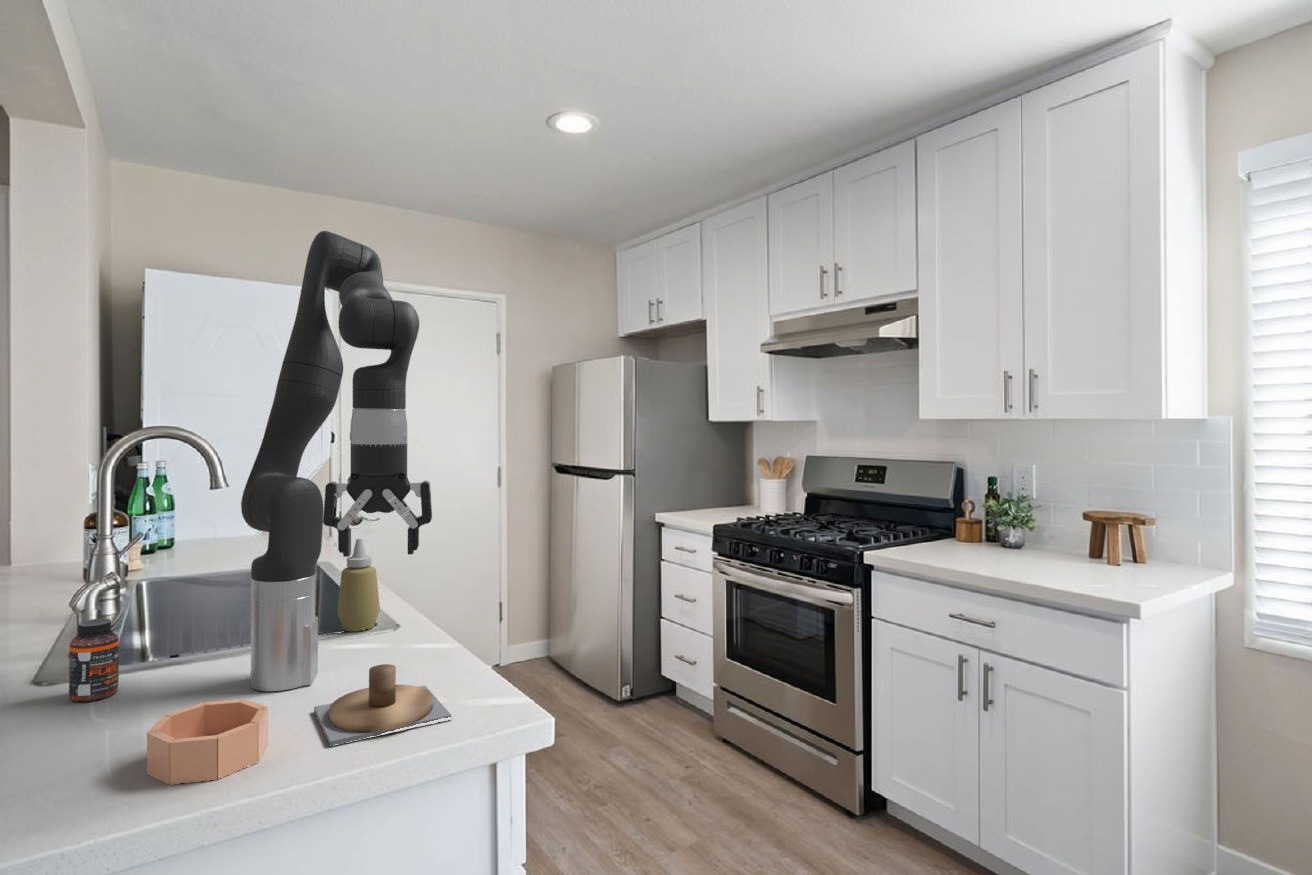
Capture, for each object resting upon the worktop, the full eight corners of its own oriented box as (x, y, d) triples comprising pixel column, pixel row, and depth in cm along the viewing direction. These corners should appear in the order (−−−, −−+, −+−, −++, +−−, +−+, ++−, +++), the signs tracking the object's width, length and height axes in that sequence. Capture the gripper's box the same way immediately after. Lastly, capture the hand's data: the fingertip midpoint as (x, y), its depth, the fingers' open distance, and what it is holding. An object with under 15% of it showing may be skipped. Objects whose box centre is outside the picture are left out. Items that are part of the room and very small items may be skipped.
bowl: (274, 733, 97) (274, 696, 97) (250, 776, 86) (250, 735, 86) (173, 742, 94) (173, 704, 94) (134, 788, 83) (134, 745, 82)
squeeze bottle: (353, 636, 139) (354, 544, 139) (328, 629, 144) (328, 540, 143) (388, 626, 146) (389, 538, 146) (363, 619, 151) (364, 534, 150)
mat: (425, 690, 113) (425, 685, 113) (451, 720, 103) (451, 714, 103) (314, 712, 104) (314, 706, 104) (330, 747, 94) (330, 741, 94)
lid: (434, 688, 112) (434, 649, 112) (431, 726, 99) (432, 682, 98) (337, 696, 108) (337, 656, 108) (320, 737, 95) (321, 691, 95)
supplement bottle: (91, 705, 105) (91, 629, 105) (58, 701, 106) (57, 625, 106) (128, 690, 111) (128, 617, 111) (97, 686, 112) (96, 614, 112)
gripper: (433, 440, 107) (432, 548, 107) (330, 439, 103) (330, 551, 104) (430, 442, 100) (429, 558, 100) (319, 441, 96) (319, 562, 97)
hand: (379, 554), depth 102 cm, fingers open, 8 cm apart
